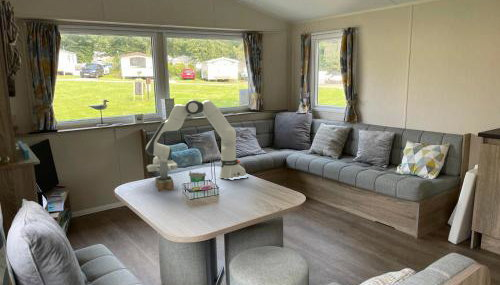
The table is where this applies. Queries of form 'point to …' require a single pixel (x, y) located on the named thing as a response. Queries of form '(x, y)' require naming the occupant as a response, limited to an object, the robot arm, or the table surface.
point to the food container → (197, 177)
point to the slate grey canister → (163, 170)
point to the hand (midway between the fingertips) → (164, 169)
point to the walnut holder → (164, 184)
